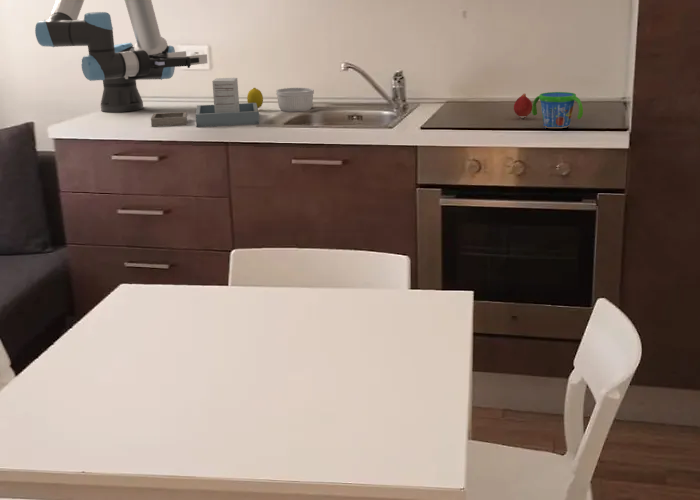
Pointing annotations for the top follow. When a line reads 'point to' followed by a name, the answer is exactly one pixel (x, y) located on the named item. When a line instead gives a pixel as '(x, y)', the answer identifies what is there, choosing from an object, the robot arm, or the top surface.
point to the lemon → (255, 97)
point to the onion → (523, 106)
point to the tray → (227, 116)
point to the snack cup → (557, 108)
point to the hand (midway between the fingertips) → (196, 57)
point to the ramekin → (295, 99)
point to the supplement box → (226, 95)
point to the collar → (169, 119)
